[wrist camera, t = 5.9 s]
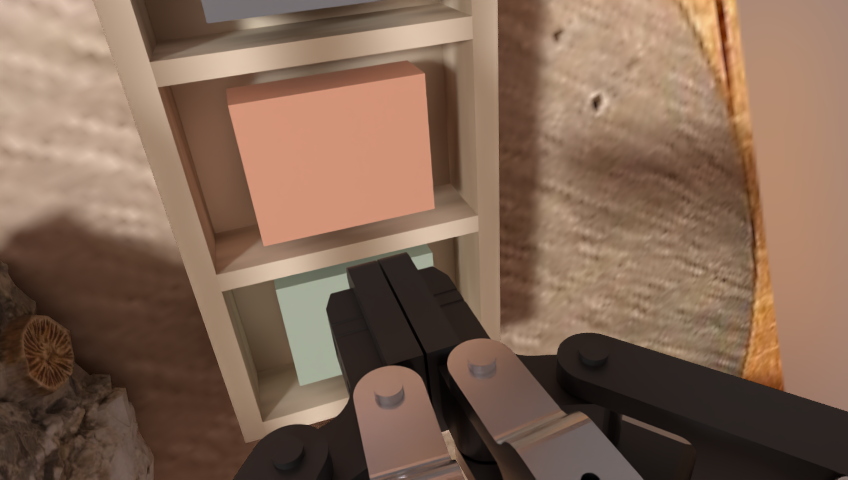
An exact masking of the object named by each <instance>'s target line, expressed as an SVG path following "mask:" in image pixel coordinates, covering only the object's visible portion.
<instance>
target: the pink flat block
mask: <svg viewBox="0 0 848 480" xmlns="http://www.w3.org/2000/svg"><path fill="white" fill-rule="evenodd" d="M226 93H227V102H228V108H229V112H230V116H231V120H232V124H233V128H234V132H235V136H236V139H237V143H238V147H239V151H240V155H241V159H242V163H243V167H244V171H245V175H246V179H247V183H248V187H249V191H250V194H251V198H252V202H253V206H254V210H255V214H256V218H257V222H258V226H259V230H260V234H261V238H262V242H263V245H264V246H268V245H273V244H277V243H282V242H286V241H291V240H295V239H300V238H304V237H309V236H314V235H318V234H323V233H327V232H332V231H336V230H341V229H345V228H350V227H354V226H359V225H363V224H368V223H372V222H377V221H381V220H386V219H390V218H395V217H399V216H404V215H409V214H413V213H418V212H422V211H427V210H431V209H435V206H434V193H433V179H432V165H431V152H430V138H429V124H428V111H427V97H426V83H425V73H424V72H422V71H421V70H420V69H418V68H417V67H416V66H414V65H413V64H412V63H411V62H409V61H408V60H406V61H399V62H393V63H387V64H380V65H374V66H367V67H361V68H355V69H348V70H342V71H336V72H329V73H323V74H317V75H310V76H304V77H298V78H291V79H285V80H279V81H272V82H266V83H260V84H253V85H247V86H240V87H234V88H228V89H226Z"/></svg>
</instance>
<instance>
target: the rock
mask: <svg viewBox="0 0 848 480" xmlns="http://www.w3.org/2000/svg"><path fill="white" fill-rule="evenodd" d="M0 480H154V456H153V454H152V452H151V450H150V448H149V446H148V445H147V443H146V442H145V440H144V439H143V437H142V436H141V434H140V433H139V430H138V424H137V421H136V415H135V409H134V407H133V406H132V404H131V402H130V401H129V402H128V397H127V391H126V388H118V387H112V383H111V377H110V375H99V374H93V375H89V374H88V373H86V372H85V371H84V370H83V369H82V368H81V367H80V366H78V365H77V364H76V363H75V362H74V353H73V348H72V341H71V333H70V331H69V330H68V329H66V328H65V327H63V326H62V325H60V324H59V323H57V322H56V321H54V320H53V319H52V318H50V317H49V316H44V315H36V302H35V301H34V300H32V299H31V298H29V297H28V296H27V295H26V294H25V293H23V292H22V291H21V290H20V289H19V288H18V287H17V286H15V284H14V283H13V281H12V279H11V278H10V276H9V274H8V264H5V263H3V262H0Z"/></svg>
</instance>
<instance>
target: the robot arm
mask: <svg viewBox="0 0 848 480" xmlns="http://www.w3.org/2000/svg"><path fill="white" fill-rule="evenodd" d="M346 273H347V279H348V284H349V289H346V290H343V291H339V292H335V293H332V294H330V297H329V300H328V304H327V307H326V312H327V316H328V321H329V325H330V329H331V334H332V338H333V342H334V347H335V351H336V355H337V359H338V362H339V365H340V369H341V372H342V375H343V378H344V381H345V385H346V388H347V391H348V394H349V400H348V402H347V404H346V406H345V407H344V409H343V410H342V411H341V413H340V414H339V415H337V416H336V417H335V418H334V419H333V420H331V421H330V422H328V423H327V424H325V425H324V426H322V427H321V428H319V429H316V428H314V427H312V426H309V425H305V424H292V425H287V426H283V427H281V428H278V429H276V430H274V431H272V432H271V433H269V434H268V435H266V436H265V437H264V438H263V439H262V440H261V441H260V442H259V443H258V444H257V445H256V446H255V448H254V449H253V451H252V452H251V454H250V455H249V457H248V458H247V460H246V461H245V462H244V464H243V465H242V467H241V468H240V470H239V471H238V473H237V474H236V476H235V477H234V479H233V480H465V479H464V477H463V474H462V471H461V469H462V470H463V472H464V474H465V476H466V477H467V479H468V480H848V412H847V411H844V410H841V409H837V408H834V407H831V406H828V405H825V404H821V403H818V402H815V401H812V400H809V399H806V398H802V397H799V396H796V395H793V394H790V393H787V392H783V391H780V390H777V389H774V388H771V387H768V386H764V385H761V384H758V383H755V382H752V381H748V380H745V379H742V378H739V377H736V376H733V375H729V374H726V373H723V372H720V371H717V370H714V369H710V368H707V367H704V366H701V365H698V364H694V363H691V362H688V361H685V360H682V359H679V358H675V357H672V356H669V355H666V354H663V353H659V352H656V351H653V350H650V349H647V348H644V347H640V346H637V345H634V344H631V343H628V342H624V341H621V340H618V339H615V338H612V337H609V336H605V335H602V334H597V333H580V334H575V335H573V336H570V337H568V338H567V339H565V340H564V341H563V342H562V343H561V344H560V346H559V348H558V352H557V355H541V356H523V355H517V354H514V352H513V351H512V350H511V349H510V348H509V347H508V346H506V345H505V344H503V343H501V342H499V341H496V340H492V339H491V338H490V337H489V336H488V334H487V333H486V331H485V330H484V328H483V327H482V325H481V324H480V322H479V321H478V319H477V318H476V316H475V315H474V313H473V312H472V310H471V309H470V307H469V306H468V304H467V303H466V301H464V298H463V297H462V295H461V294H460V292H459V291H457V288H456V286H455V285H454V283H453V282H452V280H451V279H450V277H449V276H448V275H447V274H445V273H444V272H442V271H440V270H438V269H437V268H435V267H433V266H430V267H427V268H423V269H419V270H418V269H417V268H416V266H415V264H414V263H413V261H412V259H411V258H410V256H409V254H408V253H407V252H404V253H400V254H396V255H392V256H389V257H385V258H381V259H377V261H376V260H374V261H370V262H366V263H362V264H359V265H355V266H351V267H347V268H346ZM446 430H449V431H450V433H451V435H452V437H453V439H454V443H455V454H456V459H457V461H458V463H459V464H458V463H457V461H456V460H452V459H451V457H450V455H449V452H448V449H447V447H446V444H445V441H444V438H443V435H442V433H441V432H443V431H446ZM459 465H460V467H461V469H460V467H459Z"/></svg>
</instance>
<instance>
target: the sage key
mask: <svg viewBox="0 0 848 480" xmlns="http://www.w3.org/2000/svg"><path fill="white" fill-rule="evenodd" d="M404 252H407V253H408V254H409V256H410V258H411V259H412V261H413V263H414V264H415V266H416V268H417V269H418V270H419V269H423V268H427V267H430V266H433V254H432V251H431V250H430V248H429V247H428V245H427V244H422V245H418V246H414V247H410V248H405V249H401V250H397V251H393V252H388V253H384V254H380V255H376V256H371V257H367V258H363V259H359V260H354V261H350V262H346V263H342V264H337V265H333V266H329V267H325V268H320V269H316V270H312V271H307V272H303V273H299V274H295V275H290V276H286V277H282V278H278V279H274V284H275V289H276V293H277V297H278V301H279V305H280V309H281V313H282V317H283V321H284V325H285V329H286V333H287V337H288V341H289V345H290V349H291V352H292V356H293V360H294V364H295V368H296V372H297V376H298V380H299V384H300V386H302V385H306V384H310V383H313V382H317V381H320V380H324V379H327V378H331V377H335V376H338V375H342V372H341V369H340V365H339V362H338V359H337V355H336V351H335V347H334V342H333V338H332V334H331V329H330V325H329V321H328V316H327V312H326V307H327V304H328V300H329V297H330V294H332V293H335V292H339V291H343V290H346V289H349V284H348V279H347V273H346V268H347V267H351V266H355V265H359V264H362V263H366V262H370V261H374V260H376V261H377V259H381V258H385V257H389V256H392V255H396V254H400V253H404ZM433 267H434V266H433Z"/></svg>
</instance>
